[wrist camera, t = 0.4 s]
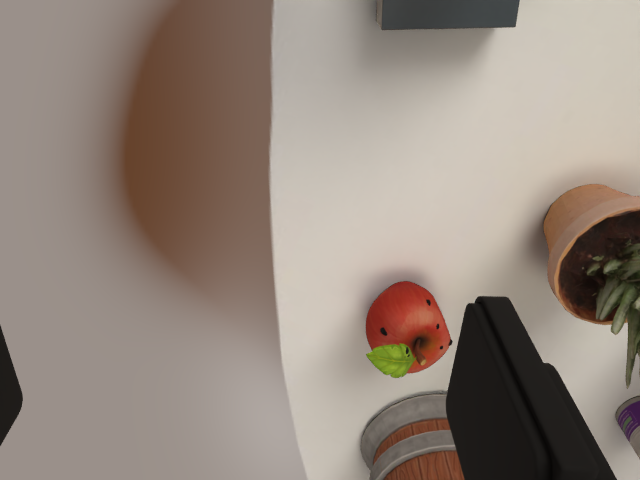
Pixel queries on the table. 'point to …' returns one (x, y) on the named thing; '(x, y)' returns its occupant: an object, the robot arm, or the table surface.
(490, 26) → the panel
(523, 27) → the table surface
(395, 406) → the mug
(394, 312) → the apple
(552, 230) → the potted plant
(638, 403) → the container
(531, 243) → the table surface
